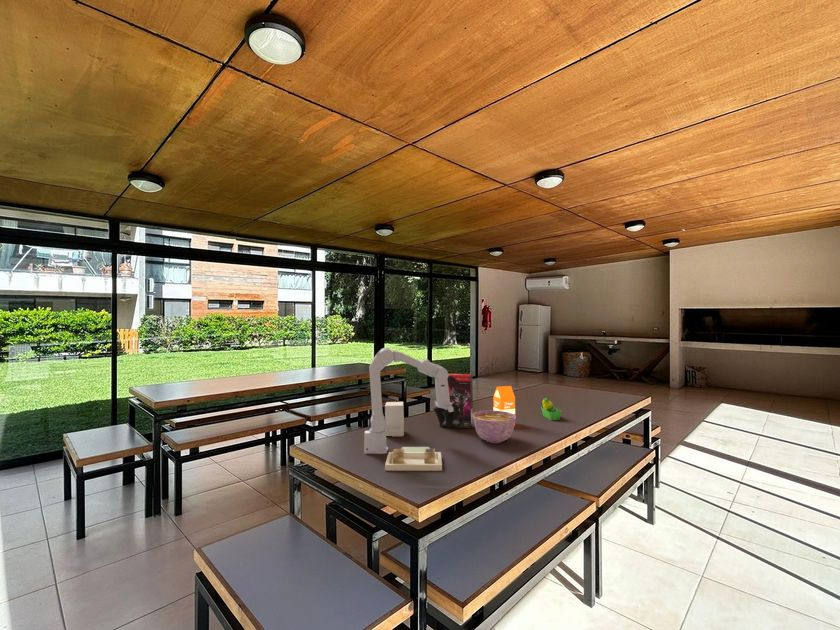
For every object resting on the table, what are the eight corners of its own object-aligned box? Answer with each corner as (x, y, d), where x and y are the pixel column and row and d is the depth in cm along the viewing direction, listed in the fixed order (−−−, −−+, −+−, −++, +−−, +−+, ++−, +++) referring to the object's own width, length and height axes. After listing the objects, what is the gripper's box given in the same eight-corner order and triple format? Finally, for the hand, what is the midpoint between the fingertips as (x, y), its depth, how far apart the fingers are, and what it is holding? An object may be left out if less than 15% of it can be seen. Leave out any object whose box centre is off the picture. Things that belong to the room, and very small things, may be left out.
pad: (400, 456, 163) (400, 454, 163) (402, 448, 173) (402, 446, 173) (429, 456, 163) (429, 455, 163) (429, 448, 173) (429, 446, 173)
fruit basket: (562, 420, 218) (562, 399, 218) (547, 421, 216) (547, 400, 216) (552, 415, 229) (552, 395, 229) (538, 415, 228) (538, 396, 228)
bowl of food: (464, 436, 189) (464, 412, 189) (501, 432, 196) (500, 408, 196) (486, 450, 171) (486, 423, 171) (525, 444, 178) (525, 418, 178)
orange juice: (493, 422, 214) (493, 385, 214) (507, 421, 216) (507, 384, 216) (500, 426, 206) (500, 388, 206) (515, 425, 209) (515, 387, 209)
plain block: (393, 465, 152) (393, 452, 152) (394, 461, 156) (394, 448, 156) (403, 465, 152) (403, 452, 152) (404, 461, 156) (404, 448, 156)
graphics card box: (438, 427, 206) (438, 374, 206) (441, 423, 213) (441, 372, 213) (471, 429, 201) (471, 375, 201) (473, 425, 208) (473, 373, 208)
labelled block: (424, 465, 152) (424, 451, 152) (424, 461, 156) (424, 448, 156) (434, 465, 152) (434, 451, 152) (434, 461, 156) (434, 448, 156)
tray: (385, 471, 147) (385, 464, 147) (388, 458, 161) (388, 452, 161) (442, 471, 147) (442, 465, 147) (440, 458, 161) (440, 452, 161)
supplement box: (404, 431, 199) (403, 401, 199) (403, 436, 190) (403, 405, 190) (385, 431, 199) (385, 401, 199) (384, 436, 190) (384, 405, 190)
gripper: (458, 395, 168) (461, 426, 168) (443, 390, 182) (446, 419, 182) (443, 398, 166) (446, 430, 166) (429, 392, 179) (432, 422, 179)
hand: (445, 425), depth 174 cm, fingers open, 7 cm apart
